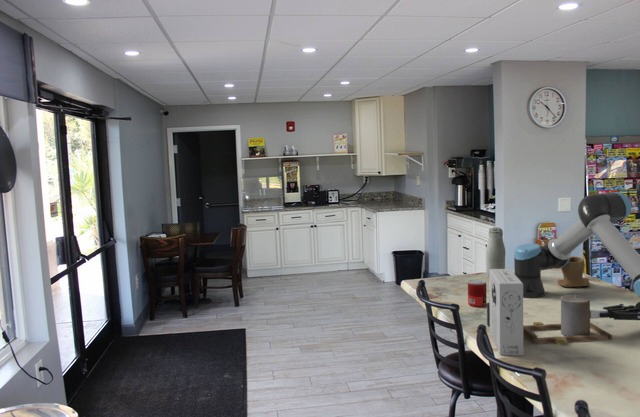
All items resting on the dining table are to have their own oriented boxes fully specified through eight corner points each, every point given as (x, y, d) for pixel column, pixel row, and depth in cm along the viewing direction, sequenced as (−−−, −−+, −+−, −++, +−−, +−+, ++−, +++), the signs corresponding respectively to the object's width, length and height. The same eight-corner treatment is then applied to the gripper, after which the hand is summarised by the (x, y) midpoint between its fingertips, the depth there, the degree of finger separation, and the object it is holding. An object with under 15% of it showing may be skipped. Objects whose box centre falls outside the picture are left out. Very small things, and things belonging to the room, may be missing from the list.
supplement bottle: (484, 323, 200) (483, 294, 199) (500, 322, 201) (500, 293, 200) (491, 329, 194) (491, 299, 192) (508, 328, 194) (508, 298, 193)
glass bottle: (485, 280, 266) (485, 228, 263) (486, 276, 276) (486, 226, 273) (505, 281, 263) (505, 229, 260) (505, 276, 272) (505, 226, 269)
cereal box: (523, 356, 168) (523, 283, 165) (499, 355, 169) (499, 283, 166) (510, 333, 189) (510, 268, 186) (489, 332, 190) (489, 268, 188)
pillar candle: (587, 330, 188) (587, 291, 187) (592, 339, 179) (592, 298, 177) (559, 328, 191) (559, 290, 190) (562, 337, 182) (561, 297, 181)
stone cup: (563, 289, 243) (563, 259, 242) (555, 283, 255) (555, 254, 253) (596, 289, 241) (596, 259, 240) (586, 283, 253) (586, 254, 251)
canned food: (487, 307, 220) (487, 283, 219) (468, 307, 222) (468, 283, 221) (485, 302, 228) (485, 279, 227) (467, 302, 230) (467, 279, 228)
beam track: (585, 323, 195) (585, 316, 195) (616, 341, 176) (616, 333, 176) (512, 327, 194) (512, 320, 194) (536, 346, 175) (536, 338, 175)
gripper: (664, 326, 179) (600, 330, 178) (639, 315, 192) (579, 318, 191) (664, 306, 178) (600, 310, 177) (639, 296, 191) (579, 299, 190)
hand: (589, 314), depth 184 cm, fingers closed
